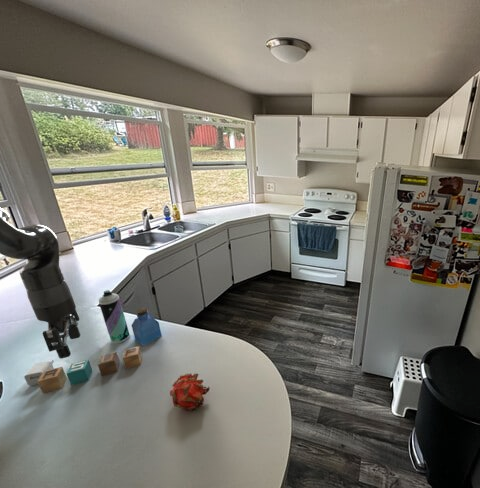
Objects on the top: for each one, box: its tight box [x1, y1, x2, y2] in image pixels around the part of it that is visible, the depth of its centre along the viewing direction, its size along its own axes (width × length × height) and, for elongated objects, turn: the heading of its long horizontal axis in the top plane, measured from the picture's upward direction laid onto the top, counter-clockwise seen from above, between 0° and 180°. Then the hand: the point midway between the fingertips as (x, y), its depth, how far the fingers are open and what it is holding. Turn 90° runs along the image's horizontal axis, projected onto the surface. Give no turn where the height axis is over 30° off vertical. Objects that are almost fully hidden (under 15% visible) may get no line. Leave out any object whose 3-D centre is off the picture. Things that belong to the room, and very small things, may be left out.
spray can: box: [98, 290, 131, 344], centre depth 90 cm, size 6×6×20 cm
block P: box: [122, 345, 143, 370], centre depth 82 cm, size 4×4×5 cm
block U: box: [97, 351, 121, 377], centre depth 79 cm, size 4×4×5 cm
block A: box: [37, 366, 68, 394], centre depth 73 cm, size 4×4×5 cm
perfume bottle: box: [131, 307, 162, 346], centre depth 92 cm, size 6×6×12 cm
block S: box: [66, 359, 93, 386], centre depth 76 cm, size 4×4×5 cm
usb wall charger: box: [23, 359, 55, 386], centre depth 76 cm, size 4×7×4 cm, turn 22°
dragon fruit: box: [169, 372, 210, 412], centre depth 69 cm, size 8×8×12 cm
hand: (70, 346), depth 73 cm, fingers open, 8 cm apart
